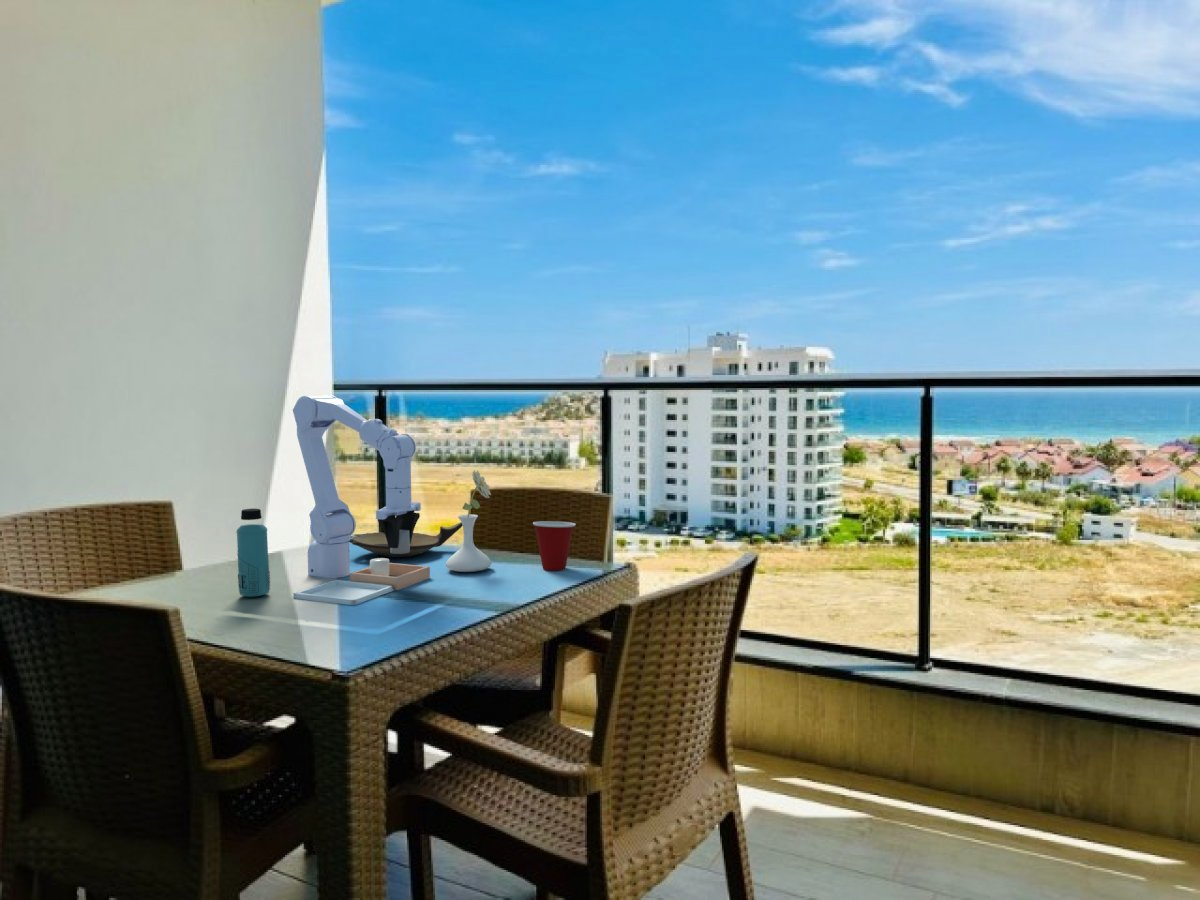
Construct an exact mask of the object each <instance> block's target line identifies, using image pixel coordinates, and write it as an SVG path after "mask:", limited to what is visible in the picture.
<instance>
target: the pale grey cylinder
mask: <svg viewBox="0 0 1200 900" xmlns="http://www.w3.org/2000/svg"><path fill="white" fill-rule="evenodd" d="M389 563H390V558H385V557H380V558H379V557H377V558H371V559H370V560H369V567H370V574H372V575H382V576H391V575H390V573H389Z"/></svg>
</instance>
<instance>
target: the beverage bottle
mask: <svg viewBox="0 0 1200 900" xmlns="http://www.w3.org/2000/svg"><path fill="white" fill-rule="evenodd" d="M240 513H241V516H240V519H241V520H242V521H253V520H254V521H255V520H256V521H257V520H260V519H262V510H261V509H260V508H245V509H242V510H241V512H240ZM236 540H237V541H236V543H237V545H236V546H237V553H236V554H237V568H238V569H237V571H238V573H237V583H238V592H239V595H240V596H242V597H260V596H263V595H267V594H269V593H270V590H271V574H270V573H271V571H270V560H269V559H270V558H269V546H268V545H269V543H268V527H266V525H264V524H262V523H257V522H253V523H251V522H250V523H244V524H241V525H240V526H239V527H238V528H237V529H236Z"/></svg>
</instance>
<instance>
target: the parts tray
mask: <svg viewBox="0 0 1200 900" xmlns="http://www.w3.org/2000/svg"><path fill="white" fill-rule="evenodd" d="M394 591H395V590H394V586H392V585H382V584H372V583H363V582H353V581H350V580H341V579H334V580H331V581H327V582H325V583H322V584H319V585H314V586H312V587H309V588H306V589H303V590H300V591H296V592H294V593H293V594H292V595H293V599H296V600H298V599H299V600H307V601H315V602H324V603H331V604H340V605H348V606H356V605H359V604H363V603H364V602H366V601H371V600H372V599H375V598H377V597H380V596H383V595H385V594H388V593H391V592H394Z"/></svg>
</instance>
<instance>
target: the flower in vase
mask: <svg viewBox="0 0 1200 900" xmlns="http://www.w3.org/2000/svg"><path fill="white" fill-rule="evenodd" d="M472 480H473V482H474V484H475V488H474V490H473V493H472V495H471V498H470V502H469V504H468V503H467V502H464V504H463V506H462V510H465V511H468V512H467V514H466V513H465V514H459V515H457V518H458V519H459V521H460V522H461V523H462V531H463V542H462V546H461V547H460V548H459V549H458V550H457V551H456V552H454V553H453V554H452V555H451V556H449V558H448V559H447V560H446V563H445V566H446V568H447V569H449V570H451V571H454V572H460V573H473V572H479V571H484V570H486V569H488V568H490V567H491V565H492V561H491V559H490V557H488V556H487V554H485V553H483V552H482V551H481V550H480V549H478V548H477V547H476V545H475V544H474V538H473V537H474V536H473V535H474V526H475V522H476V520H477V519H478V517H479V515H478V514H471V513H470V512H471V509H472V508H474V509H476V510H478V509H480V507H481V505H480V503H479V501H477V499H474V495H475V494H476V492H477V490H478V492H479V494H480V496H482V497H484V498H486V499H490V496H492V493H491V491H490V486H489V485H488V484H487V482H486V481H485V477H484V476H481V474H480V472H479V470H475V469H474V470H473V471H472ZM489 495H490V496H489Z"/></svg>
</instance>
